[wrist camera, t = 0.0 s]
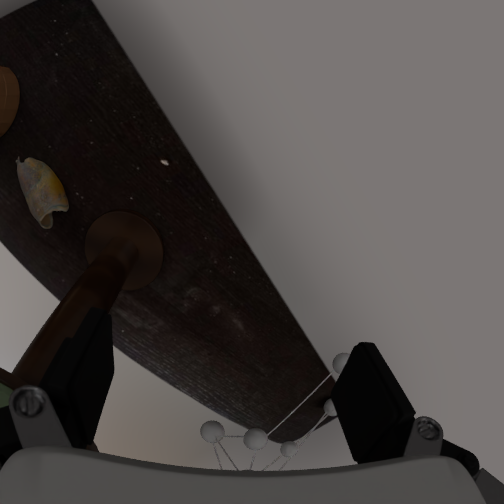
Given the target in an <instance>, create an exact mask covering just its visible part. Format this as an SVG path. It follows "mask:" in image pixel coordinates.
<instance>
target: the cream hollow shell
mask: <svg viewBox="0 0 504 504" xmlns="http://www.w3.org/2000/svg"><path fill="white" fill-rule="evenodd" d="M16 163H17V173H18V178H19V182H20V185H21V189H22V191H23V194H24V196H25V197H26V201H27V203H28V206H29V209H30V212H31V214H32V215H33V216H34V218H35V219H36V220H37V221H38V222H39V224H40V225H41V226H42V227H43V228H46V229H49V228H51V227H52V226H53V218H52V211H56V212H57V211H61V210H62V211H64V212H66V211H67V210H68V209H69V204H68V199H67V197H66V194H65V191H64V188H63V185H62V183H61V182H60V180H59V179H58V177H57V176H56V174H55V173H54V172H53V171H52V170H51V168H50V167H49V166H48V165H46V164H45V163H44V162H42V161H39V160H36V159H33V158H29V157H28V158H27V159H26V160H25V161H24V162H23V163H20V158H19V157H18V160H16Z"/></svg>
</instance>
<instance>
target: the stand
mask: <svg viewBox="0 0 504 504" xmlns="http://www.w3.org/2000/svg"><path fill="white" fill-rule="evenodd" d="M164 253H165V251H164V244H163V240H162V237H161V235H160V233H159V231H158V229H157V228H156V226H155V225H154V224H153V223H152V222H151V221H150V220H149V219H148V218H146V217H145V216H143V215H142V214H140V213H138V212H135V211H132V210H128V209H116V210H111V211H109V212H106V213H104V214H103V215H101V216H100V217H99V218H98V219H96V220H95V221H94V222H93V223H92V225H91V226H90V228H89V230H88V232H87V234H86V238H85V255H86V259H87V262H88V264H89V267H88V268H87V269H86V270H85V272H84V273H83V274H82V275H81V276H80V278H79V279H78V280H77V281H76V283H75V284H74V285H73V287H72V288H71V289H70V290H69V292H68V293H67V294H66V296H65V297H64V298H63V299H62V301H61V302H60V304H59V305H58V306H57V308H56V309H55V310H54V312H53V313H52V314H51V316H50V317H49V318H48V320H47V321H46V323H45V324H44V325H43V327H42V328H41V330H40V331H39V333H38V334H37V335H36V337H35V338H34V340H33V341H32V343H31V344H30V346H29V347H28V349H27V350H26V352H25V353H24V355H23V356H22V358H21V359H20V361H19V362H18V364H17V365H16V367H15V368H14V370H13V372H12V373H9V372H7V371H6V370H4V369H2V368H0V383H2V384H4V385H5V386H7V387H9V388H11V389H12V390H15V389H17V388H18V387H21V386H23V385H35V386H38V385H39V383H40V381H41V379H42V378H43V376H44V374H45V372H46V370H47V368H48V367H49V365H50V363H51V361H52V359H53V358H54V356H55V354H56V352H57V351H58V349H59V347H60V346H61V344H62V342H63V340H64V339H65V338H66V337H70V338H73V336H74V335H75V333H76V331H77V329H78V328H79V326H80V324H81V323H82V321H83V319H84V318H85V316H86V314H87V313H88V311H89V309H90V308H91V307H96V308H100V309H105V310H106V311H107V314H108V313H109V311H110V309H111V307H112V305H113V303H114V302H115V300H116V298H117V296H118V294H119V292H120V290H136V289H140V288H143V287H145V286H147V285H148V284H150V283H151V282H152V281H153V280H154V279H155V278H156V277H157V275H158V274H159V272H160V270H161V267H162V264H163V261H164ZM86 450H90V451H95V452H99V451H98V449H97V446H96V445H95V443H94V441H93V443H92V445H87V447H86Z"/></svg>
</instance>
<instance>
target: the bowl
mask: <svg viewBox="0 0 504 504" xmlns="http://www.w3.org/2000/svg"><path fill="white" fill-rule="evenodd" d="M19 99H20V89H19V83H18V80H17V78H16V76H15V75H14V73H13V72H12V71H11V70H10V69H9V68H8V67H5V66H2V65H0V137H1V136H2V135H4V134H5V133H6V131H7V130H8V129H9V127H10V126H11V124H12V123H13V120H14V118H15V116H16V113H17V110H18V105H19Z"/></svg>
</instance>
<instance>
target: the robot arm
mask: <svg viewBox="0 0 504 504" xmlns="http://www.w3.org/2000/svg"><path fill="white" fill-rule="evenodd" d="M113 375H114V356H113V341H112V318H111V315H110V314H107V311H106V310H105V309H100V308H96V307H91V308H90V309H89V311H88V313H87V314H86V316H85V318H84V319H83V321H82V323H81V324H80V326H79V328H78V329H77V331H76V333H75V335H74V336H73V338H70V337H66V338H65V339H64V340H63V342H62V344H61V346H60V347H59V349H58V351H57V352H56V354H55V356H54V358H53V359H52V361H51V363H50V365H49V367H48V368H47V370H46V372H45V374H44V376H43V378H42V379H41V381H40V383H39V385H38V386H35V385H23V386H21V387H18V388H17V389H15V390H14V391H13V392H12V394H11V395H10V397H9V401H8V402H9V405H8V406H4V407H1V408H0V504H504V484H502V483H501V482H500V481H499V480H497V479H496V478H495V477H494V476H492V475H491V474H490V473H489V472H487V471H486V470H485V469H484V468H482V469H481V470H479V461H478V459H477V458H476V456H475V455H474V454H473V453H471V452H470V451H467V450H465V449H463V448H461V447H459V446H457V445H455V444H453V443H451V442H449V441H446V440H444V439H443V430H442V427H441V426H440V425H439V423H438V422H436V421H435V420H433V419H432V418H429V417H424V416H422V417H418V418H417V419H415V418H414V415H415V414H416V412H415V410H414V408H413V407H412V405H411V403H410V402H409V400H408V398H407V397H406V395H405V393H404V391H403V390H402V388H401V386H400V385H399V383H398V382H397V380H396V378H395V376H394V375H393V373H392V371H391V370H390V368H389V366H388V365H387V363H386V362H385V360H384V359H383V357H382V355H381V354H380V352H379V350H378V349H377V347H376V346H375V344H374V343H369V342H360V343H359V344H358V345H356V346H354V348H353V350H352V352H351V354H350V356H349V358H348V360H347V362H346V364H345V366H344V368H343V370H342V372H341V374H340V376H339V378H338V380H337V382H336V384H335V385H334V387H333V389H332V391H331V400H332V402H333V405H334V408H335V410H336V413H337V416H338V419H339V421H340V424H341V427H342V429H343V432H344V435H345V438H346V440H347V443H348V446H349V449H350V451H351V454H352V457H353V459H354V461H356V462H357V463H358V464H356V465H349V466H341V467H331V468H321V469H307V470H290V471H234V470H233V471H232V470H216V469H203V468H192V467H183V466H175V465H167V464H160V463H154V462H147V461H141V460H136V459H130V458H125V457H120V456H115V455H110V454H105V453H100V452H95V451H90V450H86V447H87V445H92V443H93V440H94V436H95V433H96V430H97V426H98V423H99V419H100V416H101V413H102V409H103V406H104V403H105V400H106V397H107V394H108V391H109V388H110V385H111V381H112V379H113Z"/></svg>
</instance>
